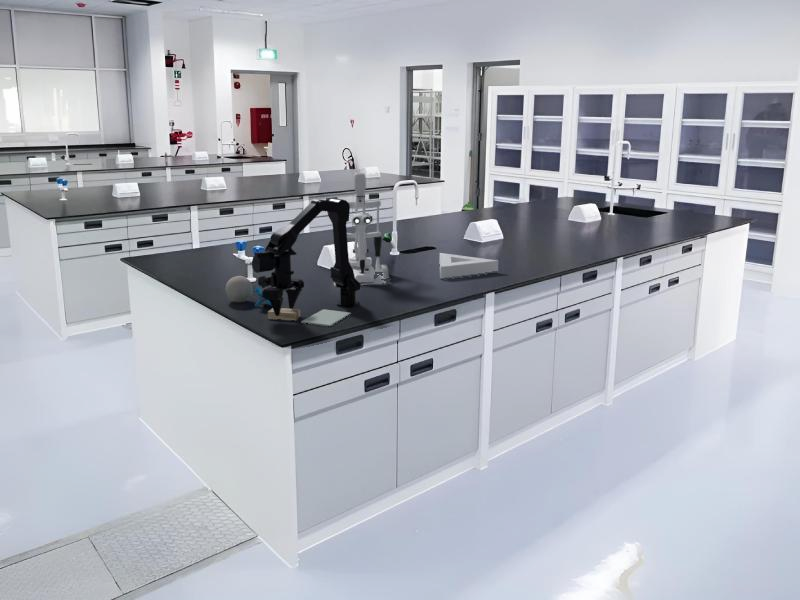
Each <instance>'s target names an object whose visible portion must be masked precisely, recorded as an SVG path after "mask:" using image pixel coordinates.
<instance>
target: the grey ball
mask: <svg viewBox="0 0 800 600" xmlns="http://www.w3.org/2000/svg"><path fill="white" fill-rule="evenodd" d="M253 287H254V286H253V283H252V281H250V279H249V278H247V277H245V276H243V275H236V276H233V277H231V278H230V279H229V280H227V282H226V284H225V294H226V296H227V298H228V299H229V300H230V301H233V302H234V303H244V302H246V301H248V300H249V299H250V298H251V297H252V295H253V293H254V291H253V290H254V288H253Z"/></svg>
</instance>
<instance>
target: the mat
mask: <svg viewBox="0 0 800 600" xmlns="http://www.w3.org/2000/svg"><path fill="white" fill-rule="evenodd" d="M349 314H351V315H352V312H346V311H340V310H332V309H325V308H323V309H321V310H319V311H318V312H316V313H314V314H312V315H311V316H308V317H306V318H305V319H302V320H301V323H302V324H306V323H308V324H307V325H313V324H314V325H313V326H323V327H328V326H329V328H330V326H331V327H332V326H334V325H336V324H337V323H339V322H341V321H342V320H344V319H345V317H346V316H347V317H349V316H350V315H349ZM348 315H349V316H348ZM347 317H346V318H347ZM343 318H344V319H343ZM340 320H341V321H340ZM338 321H339V322H338ZM335 323H336V324H335Z"/></svg>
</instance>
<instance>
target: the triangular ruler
mask: <svg viewBox="0 0 800 600" xmlns="http://www.w3.org/2000/svg"><path fill="white" fill-rule="evenodd" d="M439 264H440V267H439V279H440V278H445V277H453V276H462V275H470V274H478V273H485V272H492V271H498V272H499V260H498V259H489V258H482V257H473V256H467V255H466V256H465V255H460V254H452V253H451V254H450V253H444V252H439V263H438V265H439Z"/></svg>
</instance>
